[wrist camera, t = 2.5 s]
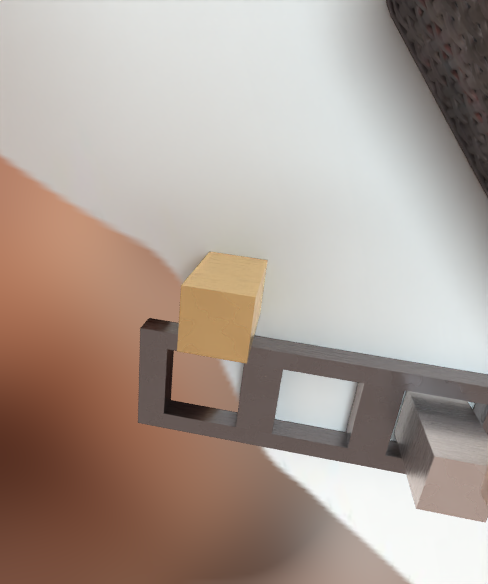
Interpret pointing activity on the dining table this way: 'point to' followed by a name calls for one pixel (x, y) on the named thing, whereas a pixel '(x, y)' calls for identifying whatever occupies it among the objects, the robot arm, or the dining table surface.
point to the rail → (265, 389)
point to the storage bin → (453, 66)
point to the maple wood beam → (221, 307)
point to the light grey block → (443, 455)
